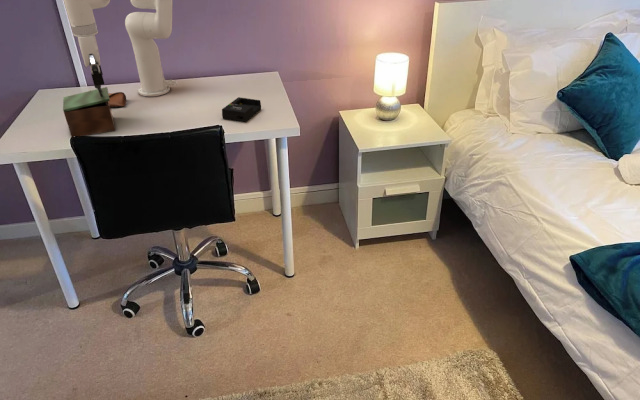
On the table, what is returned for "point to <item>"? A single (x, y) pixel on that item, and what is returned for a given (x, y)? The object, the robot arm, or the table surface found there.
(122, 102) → the sunglasses case
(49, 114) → the table surface
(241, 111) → the battery charger
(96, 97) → the lid
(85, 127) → the chest
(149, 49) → the robot arm
